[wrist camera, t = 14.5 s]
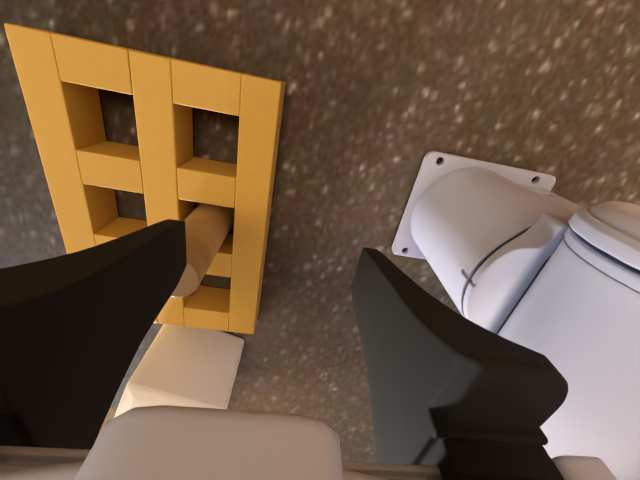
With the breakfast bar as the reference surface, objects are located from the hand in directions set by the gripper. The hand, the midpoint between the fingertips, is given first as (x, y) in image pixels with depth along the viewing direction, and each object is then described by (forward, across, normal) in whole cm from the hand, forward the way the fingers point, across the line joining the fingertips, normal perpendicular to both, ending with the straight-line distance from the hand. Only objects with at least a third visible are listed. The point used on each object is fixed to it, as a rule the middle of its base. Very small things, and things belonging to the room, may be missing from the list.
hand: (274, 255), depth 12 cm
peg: (+10, +5, +3) cm, 11 cm away
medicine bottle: (+10, +6, +18) cm, 21 cm away
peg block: (+10, +7, +3) cm, 12 cm away
